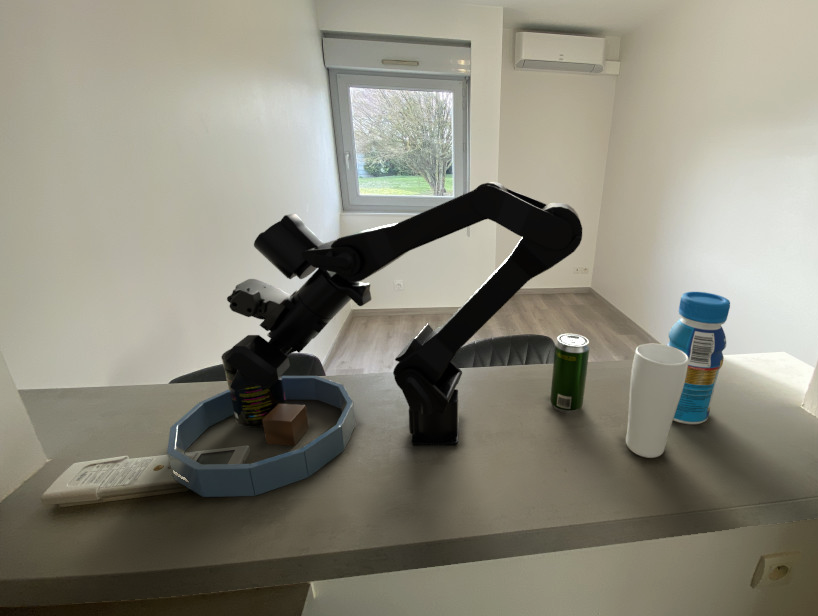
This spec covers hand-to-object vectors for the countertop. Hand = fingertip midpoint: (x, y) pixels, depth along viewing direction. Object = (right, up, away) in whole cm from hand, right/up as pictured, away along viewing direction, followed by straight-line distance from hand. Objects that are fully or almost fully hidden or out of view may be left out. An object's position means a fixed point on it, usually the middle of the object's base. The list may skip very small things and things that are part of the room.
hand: (247, 375), depth 58 cm
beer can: (+47, -7, +10) cm, 49 cm away
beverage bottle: (+66, -8, +10) cm, 68 cm away
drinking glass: (+57, -11, +1) cm, 58 cm away
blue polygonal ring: (+4, -9, -1) cm, 10 cm away
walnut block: (+6, -9, 0) cm, 10 cm away
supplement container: (+1, -6, +2) cm, 7 cm away
